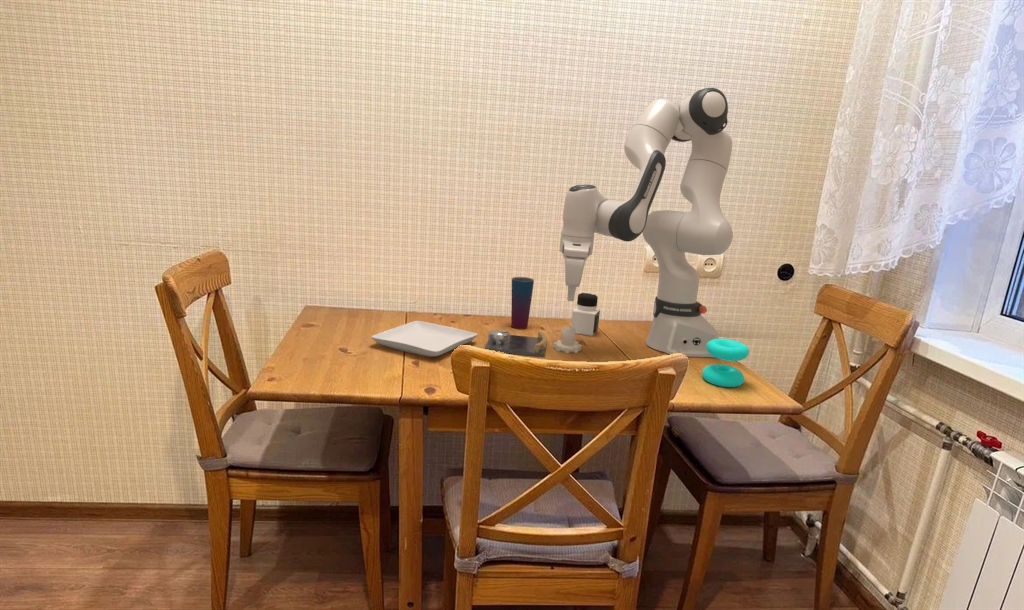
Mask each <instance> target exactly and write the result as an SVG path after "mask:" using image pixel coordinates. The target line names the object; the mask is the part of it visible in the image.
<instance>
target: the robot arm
mask: <svg viewBox="0 0 1024 610" xmlns="http://www.w3.org/2000/svg"><path fill="white" fill-rule="evenodd" d="M728 114H729V105H728V99H727V97H726V95H725V93H723V92H722V90H720V89H718V88H715V87H705V88H701V89H699V90H697V91H695V92H694V93H691V95H689V96H687V97H685V98H684V99H683V100H682V101H680V102H679V103H677V104H676V103H674V102H673V101H671V100H669V99H666V98H657V99H654V100H652V101H651V102H650V103H649V104H648V105H647V106H646V108H645V109H644V110H643V111H642V112H641V114H640V115H639V116H638V118H637V120H636V121H635V122H634V124H633V126H632V128H631V129H630V131H629V132H628V134H627V136H626V139H625V141H624V146H623V147H624V153H625V156H626V157H627V159H628V161H629V162H630V163H631V164H632V165H633V166H634V167H635V168H636V169H638V170H639V175H638V177H637V180H636V181H635V184H634V186H633V189H632V192H631V194H630V196H629V197H628V198H627V199H624V200H623V201H622V200H621V201H620V200H613V199H610V198H608V197H607V196H605V195H603V194H602V193H601V192H599V190H598V188H597V187H598V186H596V185H593V184H576V185H574V186H573V185H572V186H571V187H569V188H568V190H567V193H566V196H565V198H564V205H563V212H562V223H563V226H562V229H561V232H560V241H559V250H558V251H559V252H560V253H561V254H562V256H563V259H564V278H565V279H564V282H565V286H567V301H568V302H574V301H575V295H576V291H577V290H576V289H577V288H579V287H580V285H581V282H582V278H583V274H584V269H585V265H586V261H587V260H588V259H589V257H590V256H591V255H593V249H594V241H595V234H599V235H602V236H606V237H611V238H615V239H618V240H620V241H623V242H632V241H635V239H637V238H639V236H641V235H642V237H643V239H644V241H645V242H646V243H647V245H648V246H649V247H650V248H651V249H652V251H653V253H654V255H655V258H656V261H657V265H658V286H657V295H656V296H655V298H654V302H653V310H652V315H653V318H652V322H651V326H650V330H649V332H648V335H647V338H646V340H645V345H646V346H648V347H649V348H651V349H654V350H656V351H660V352H663V353H666V354H668V355H670V354H673V353H683V354H685V355H687V356H686V357H690V358H694V357H695V358H715V357H714V356H712V355H711V354H710V353H709V352H708V351H707V348H706V345H707V343H708V342H709V341H710V340H713V339H720V338H719V333H718V330H717V329H716V328H715V327H714V325H713V324H712V323H710V322H709V321H708V319H706V318H705V317H704V316H703V315H702V314H704V315H705V314H706V313H708V312H707V311H708V308H707V306H705V305H703V304H701V302H699V301H698V293H699V287H700V281H701V280H700V275H699V272H698V270H697V269H696V268H695V267H693V266H692V264H690V262H688V260H687V257H686V253H688V254H694V255H700V256H720V255H722V254H724V253H725V252H727V250H728V249H729V248H730V246H731V244H732V242H733V238H734V237H733V236H734V232H733V231H734V230H733V228H732V225H731V224H730V222H729V220H727V218H726V217H725V215H724V214H723V212H722V207H721V200H720V199H721V194H722V190H723V186H724V181H725V179H726V176H727V172H728V170H729V165H730V161H731V159H732V158H731V157H732V150H733V139H732V136H731V135H730V134H729V133H728V132H727V131H725V130H724V129H725V128H726V127H727V125H728V122H729V121H728ZM671 141H675V142H679V143H685V142H689V141H691V153H690V155H689V157H688V160H687V163H686V167H685V170H684V172H683V175H682V179H681V182H680V185H679V187H680V189H679V190H680V193H681V195H682V197H683V198H685V199H686V200H687V201H688V202H690V203H691V204H692V205H691V210H690V211H689V212H688V211H687V212H685V211H678V210H669V209H664V210H663V209H661V210H656V211H655V210H654V211H651V212H650V209H651V206H652V203H653V201H654V199H655V197H656V194H657V191H658V189H659V186H660V184H661V181H662V178H663V176H664V173H665V170H666V165H667V161H666V156H665V153H666V152H667V151H666V150H667V148H668V147H669V145H670V143H671ZM649 212H650V213H649Z"/></svg>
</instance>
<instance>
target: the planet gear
mask: <svg viewBox="0 0 1024 610" xmlns="http://www.w3.org/2000/svg"><path fill="white" fill-rule="evenodd" d="M575 330H576V329H575V328H573V327H571V326H563V327H562V328H561V331H562V332H561V340H560V339H558V340H556V341H554V342H553V349H555V351H556V352H562V353H565V354H569V353H573V354H578V353H579V352H581V351H582V344H579V342H578V341H575V339H576V333H575Z"/></svg>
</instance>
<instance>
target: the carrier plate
mask: <svg viewBox="0 0 1024 610" xmlns="http://www.w3.org/2000/svg"><path fill="white" fill-rule="evenodd" d="M487 334H488V335H487V342H486V344H485V346H484V348H485V349H489V350H495V351H500V352H504V353H503V354H505V353H510V354H509V355H515V354H516V355H517V356H526V357H527V356H529V357H539V358H545V354H546V346H547V336H546V334H545V333H544V332H542V331H538V332H537V336H536V337H535V336H525V335H515V334H513V335H512V334H511V333H510V332H509V331H508V330H503V329H498V330H495V329H491V331H490V330H488V333H487ZM521 354H522V355H521Z"/></svg>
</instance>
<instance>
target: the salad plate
mask: <svg viewBox="0 0 1024 610" xmlns="http://www.w3.org/2000/svg"><path fill="white" fill-rule="evenodd" d="M478 335H479V334H478V333H476V332H473V331H468V330H464V329H460V328H457V327H451V326H447V325H443V324H438V323H437V324H436V323H432V322H426V321H422V320H414V321H410V322H408V323H405V324H401V325H399V326H395V327H393V328H389V329H387V330H385V331H381V332H378V333H376V334H373V335H372V336H371V339H372V340H373V341H374V342H376V343H378V344H380V345H382V346H385V347H389V348H391V349H393V350H394V349H395V350H398V351H402V352H405V353H410V354H414V355H419V356H423V357H428V358H429V357H431V358H433V357H439V356H441V355H444V354H446V353H448V352H450V351H452V350H453V351H454V349H456V347H457V346H459V345H461V346H463V345H465V344H468V343H470V342H472V341H473V340H474V339H476V337H477V336H478ZM459 347H460V346H459ZM457 348H458V347H457Z"/></svg>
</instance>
